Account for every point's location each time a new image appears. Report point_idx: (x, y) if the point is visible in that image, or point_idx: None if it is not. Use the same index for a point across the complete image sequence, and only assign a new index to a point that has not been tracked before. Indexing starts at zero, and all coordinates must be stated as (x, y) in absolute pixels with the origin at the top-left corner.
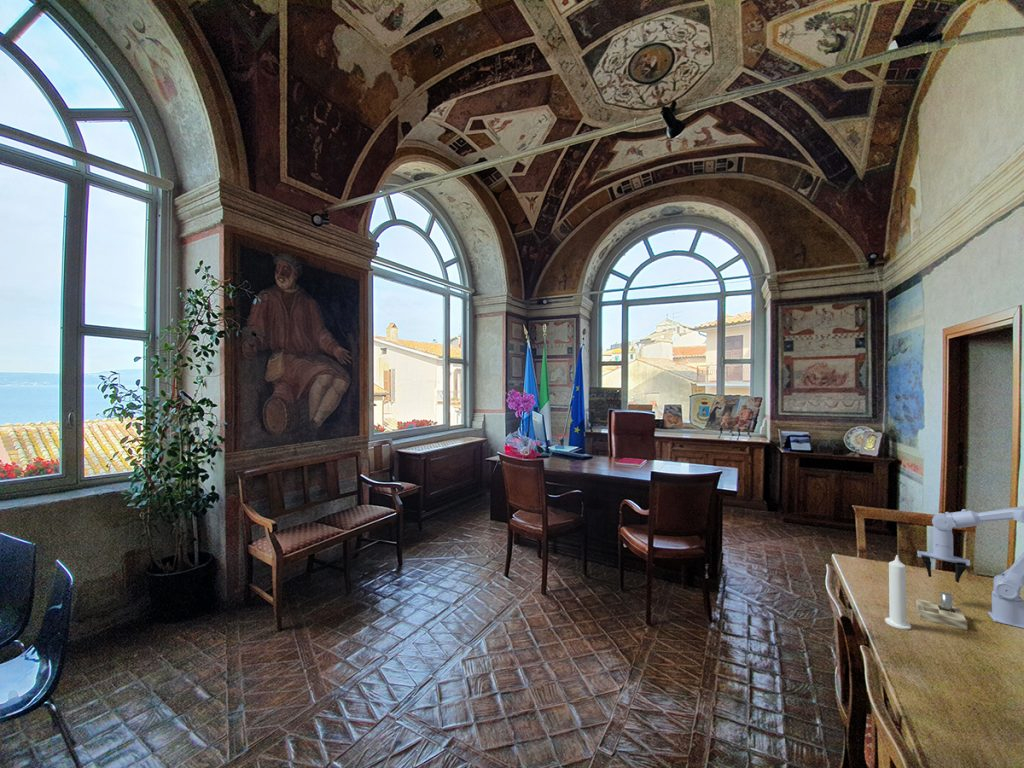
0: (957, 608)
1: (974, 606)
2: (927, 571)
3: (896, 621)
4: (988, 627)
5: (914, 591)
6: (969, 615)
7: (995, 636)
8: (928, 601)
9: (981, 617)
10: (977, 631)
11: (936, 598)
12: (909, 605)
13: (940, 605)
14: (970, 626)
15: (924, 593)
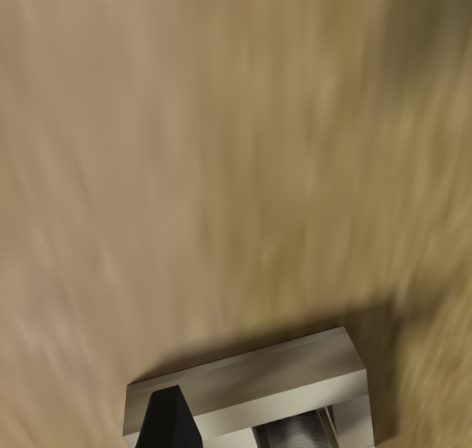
0: (354, 385)
1: (466, 19)
2: (136, 443)
3: None
4: (456, 350)
5: (4, 71)
6: (396, 265)
7: (458, 418)
8: (198, 420)
9: (457, 236)
10: (398, 429)
11: (197, 99)
12: (99, 404)
13: (266, 420)
14: (378, 405)
15: (87, 43)
